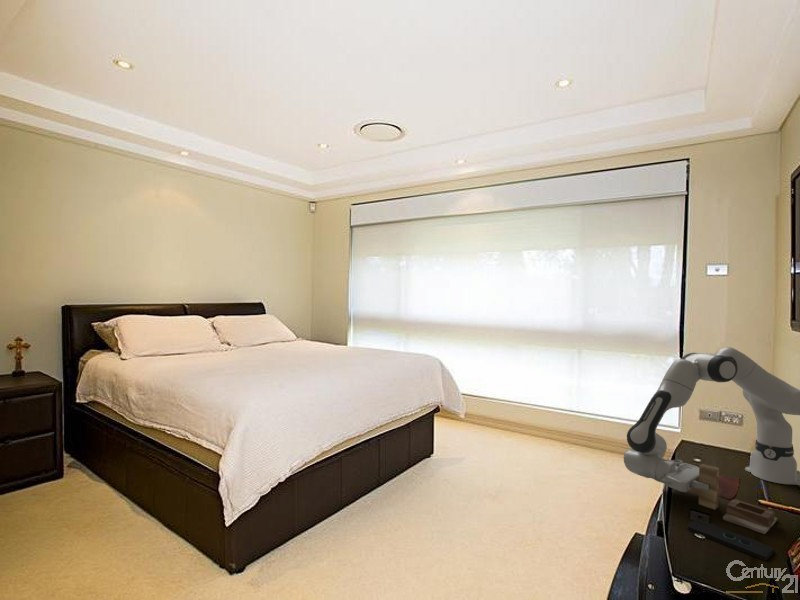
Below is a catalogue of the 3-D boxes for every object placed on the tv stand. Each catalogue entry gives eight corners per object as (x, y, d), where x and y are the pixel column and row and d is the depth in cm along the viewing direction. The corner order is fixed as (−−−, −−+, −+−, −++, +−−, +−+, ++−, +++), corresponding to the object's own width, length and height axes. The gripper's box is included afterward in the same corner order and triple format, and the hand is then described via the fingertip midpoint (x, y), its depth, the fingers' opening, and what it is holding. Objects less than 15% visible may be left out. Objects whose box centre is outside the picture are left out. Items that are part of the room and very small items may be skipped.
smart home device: (765, 556, 123) (686, 525, 139) (765, 562, 123) (686, 531, 139) (774, 547, 128) (697, 518, 144) (774, 552, 128) (697, 523, 144)
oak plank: (701, 501, 158) (702, 463, 158) (717, 507, 154) (718, 468, 154) (698, 504, 156) (699, 465, 156) (714, 509, 152) (715, 470, 152)
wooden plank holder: (736, 507, 154) (737, 496, 154) (776, 520, 145) (777, 508, 145) (723, 519, 146) (723, 507, 146) (764, 534, 137) (765, 521, 137)
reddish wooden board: (732, 502, 159) (732, 497, 159) (700, 493, 166) (700, 488, 166) (744, 480, 178) (744, 476, 178) (714, 473, 185) (714, 469, 185)
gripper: (657, 470, 159) (700, 484, 148) (679, 458, 171) (721, 470, 160) (656, 488, 159) (700, 502, 148) (679, 474, 171) (721, 487, 160)
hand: (711, 485), depth 154 cm, fingers closed on oak plank, 3 cm apart
